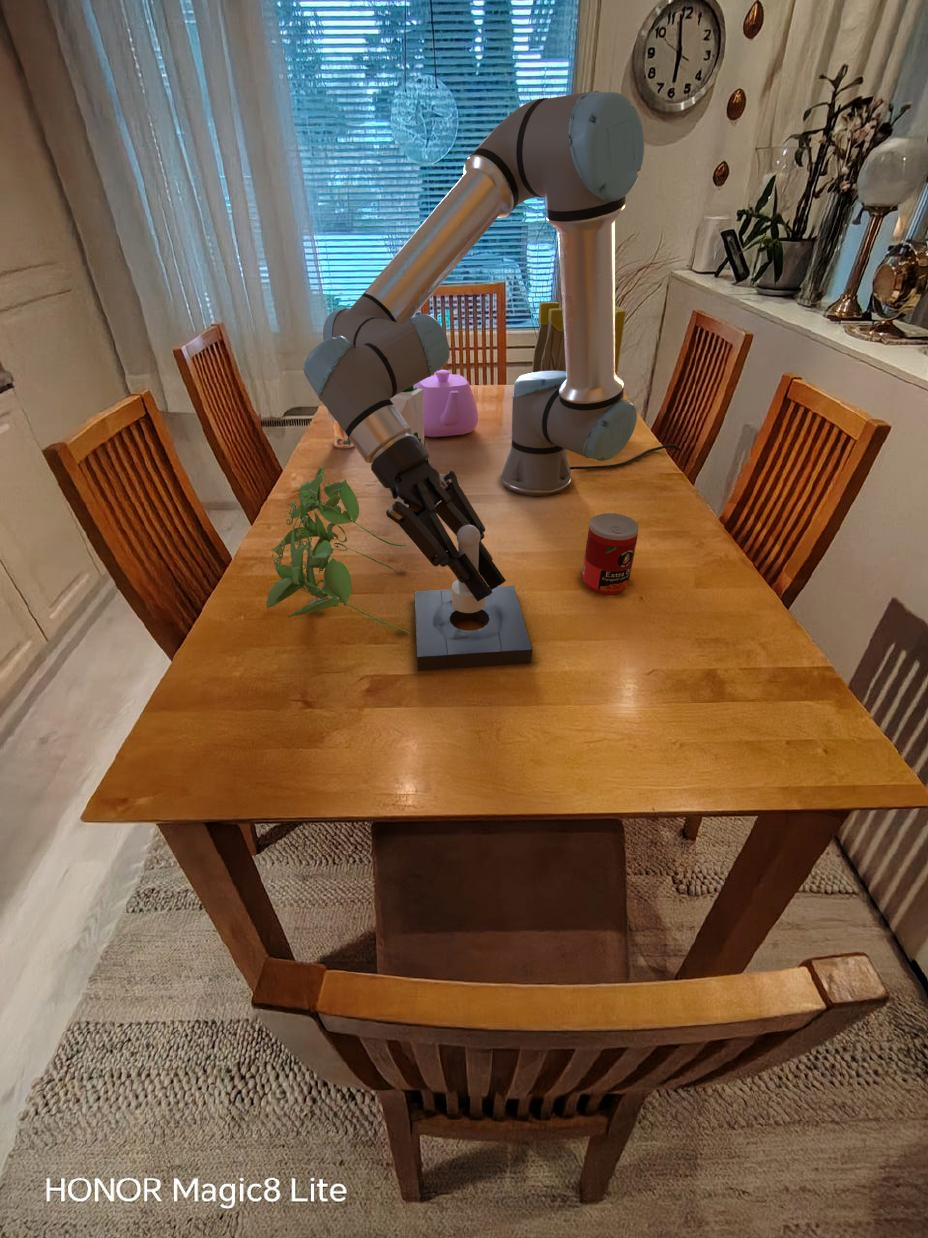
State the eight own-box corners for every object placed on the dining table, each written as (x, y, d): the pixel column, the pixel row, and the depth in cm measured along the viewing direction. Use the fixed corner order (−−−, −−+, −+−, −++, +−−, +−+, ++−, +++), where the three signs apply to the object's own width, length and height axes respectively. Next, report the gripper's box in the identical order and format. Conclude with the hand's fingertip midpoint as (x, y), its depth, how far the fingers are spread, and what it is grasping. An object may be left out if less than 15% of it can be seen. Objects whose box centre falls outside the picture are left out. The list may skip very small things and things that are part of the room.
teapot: (394, 423, 163) (389, 366, 154) (468, 417, 166) (468, 360, 157) (407, 454, 145) (402, 391, 136) (489, 446, 149) (490, 384, 140)
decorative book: (598, 420, 163) (613, 298, 145) (611, 434, 155) (630, 306, 136) (527, 424, 161) (534, 301, 143) (537, 439, 152) (545, 310, 134)
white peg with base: (482, 593, 88) (484, 517, 80) (486, 612, 84) (488, 534, 76) (450, 594, 87) (449, 518, 80) (453, 614, 84) (451, 535, 76)
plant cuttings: (376, 579, 113) (267, 521, 103) (427, 512, 105) (314, 443, 96) (371, 712, 85) (221, 649, 76) (439, 633, 78) (282, 553, 68)
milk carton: (430, 466, 139) (426, 378, 127) (413, 481, 132) (408, 389, 120) (397, 461, 141) (390, 374, 129) (379, 476, 135) (370, 385, 123)
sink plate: (513, 598, 96) (514, 585, 94) (531, 663, 83) (532, 649, 81) (415, 603, 95) (414, 591, 93) (418, 670, 82) (417, 657, 80)
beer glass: (354, 450, 147) (346, 388, 138) (328, 448, 149) (318, 386, 139) (363, 440, 153) (356, 380, 144) (338, 438, 154) (329, 378, 145)
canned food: (601, 600, 95) (611, 540, 88) (572, 576, 101) (579, 518, 94) (638, 588, 98) (650, 529, 91) (607, 565, 103) (617, 508, 97)
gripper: (413, 446, 87) (504, 575, 90) (337, 483, 77) (443, 628, 79) (441, 417, 82) (538, 555, 84) (363, 453, 71) (476, 609, 74)
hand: (491, 590), depth 82 cm, fingers closed on white peg with base, 3 cm apart
